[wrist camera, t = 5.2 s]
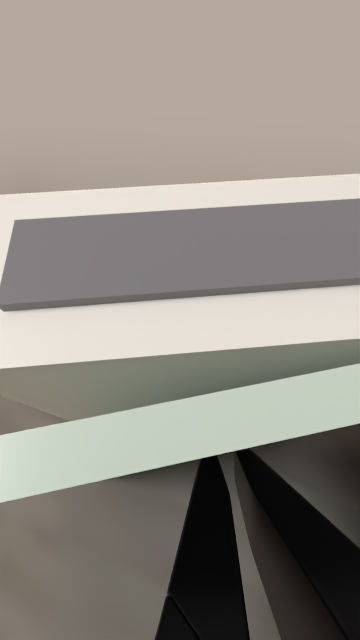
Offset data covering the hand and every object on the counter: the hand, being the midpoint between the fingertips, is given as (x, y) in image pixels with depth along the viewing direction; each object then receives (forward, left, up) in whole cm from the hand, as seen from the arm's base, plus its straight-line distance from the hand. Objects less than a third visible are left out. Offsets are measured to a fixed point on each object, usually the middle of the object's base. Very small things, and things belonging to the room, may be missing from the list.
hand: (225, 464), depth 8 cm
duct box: (+3, -3, -7) cm, 8 cm away
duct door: (+1, 0, -7) cm, 7 cm away
